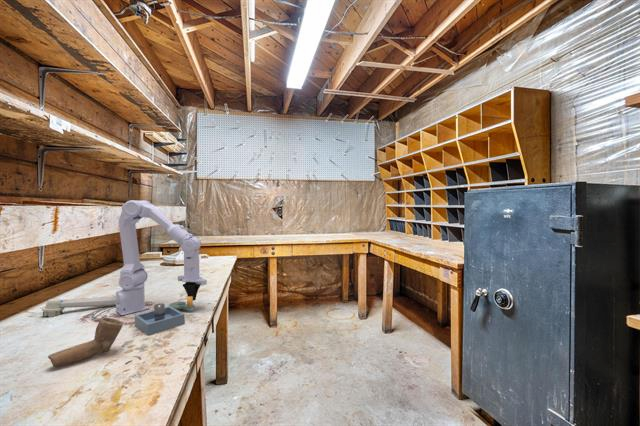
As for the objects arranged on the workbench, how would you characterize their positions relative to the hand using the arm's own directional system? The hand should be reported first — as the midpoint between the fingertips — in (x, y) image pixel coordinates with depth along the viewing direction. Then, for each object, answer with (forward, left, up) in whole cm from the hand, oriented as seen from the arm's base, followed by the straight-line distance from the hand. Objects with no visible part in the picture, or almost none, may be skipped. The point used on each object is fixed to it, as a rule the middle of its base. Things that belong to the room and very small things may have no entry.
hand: (192, 300), depth 119 cm
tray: (-15, -6, -3) cm, 16 cm away
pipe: (-37, -15, -4) cm, 40 cm away
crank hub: (-5, +3, -3) cm, 6 cm away
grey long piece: (-29, +31, -4) cm, 43 cm away
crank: (-4, +1, -2) cm, 5 cm away
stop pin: (-15, -6, -2) cm, 16 cm away
